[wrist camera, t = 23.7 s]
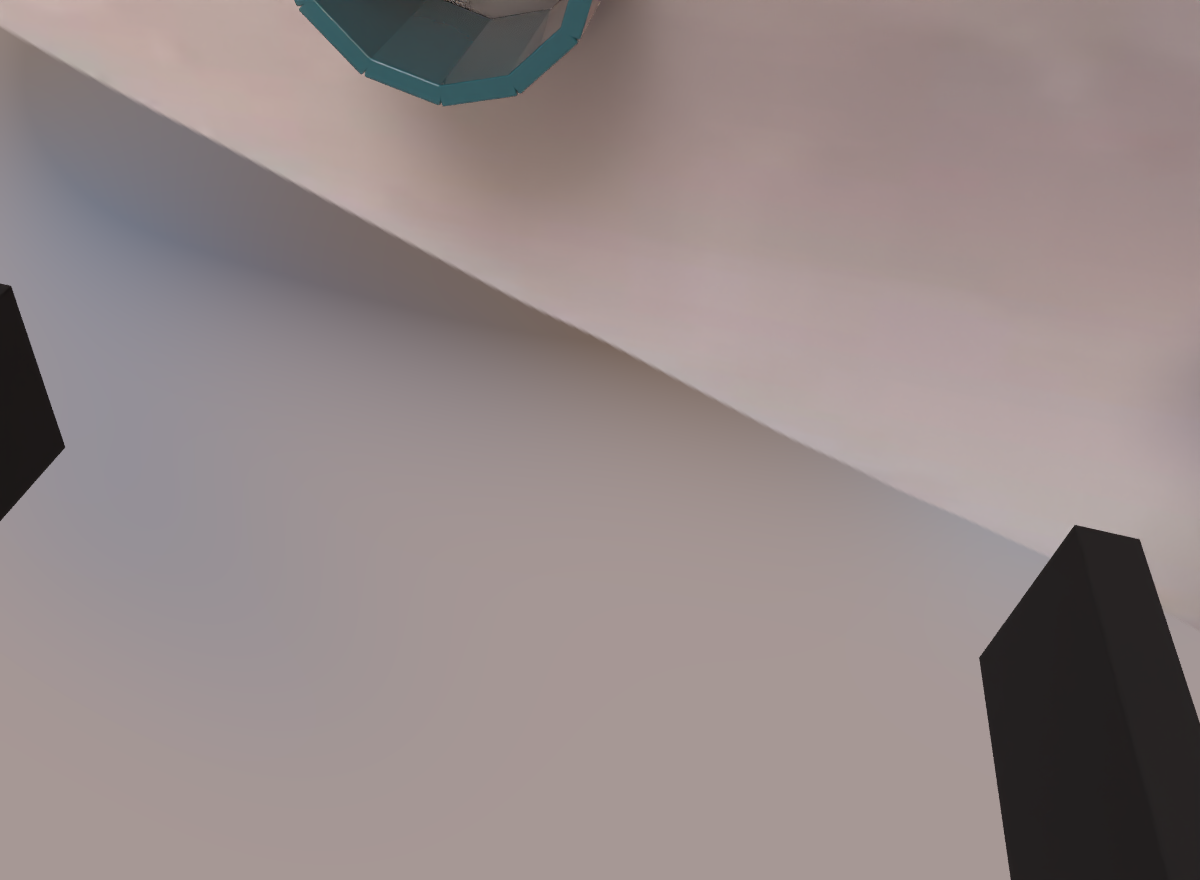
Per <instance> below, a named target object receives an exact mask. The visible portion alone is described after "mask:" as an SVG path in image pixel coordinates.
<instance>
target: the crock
mask: <svg viewBox="0 0 1200 880" xmlns="http://www.w3.org/2000/svg"><path fill="white" fill-rule="evenodd" d="M600 2H601V0H560V1H559V2H558V3H557V4H555V5H554V6H553V7H552V8H551V9H547V10H541V11H535V12H529V13H523V14H517V15H511V16H505V17H499V18H493V19H490V18H487V17H485V16H482V15H480V14H477V13H475V12H472V11H470V10H467V9H465V8H462V7H460V6H457V5H455V4H452V3H450V2H447V1H445V0H295V3H296V5H297V6H301V7H300V8H299V11H300V12H301V13H302V14H303V15H304V16H305V17H306V18H307V19H308V20H309V21H310V22H311V23H312V24H313V25H314V26H315V27H316V28H317V29H318V30H319V31H320V32H321V33H322V35H323V36H324V37H325V38H326V39H327V40H328V41H329V42H330V43H331V44H332V45H333V46H334V47H335V48H336V49H337V50H338V51H339V52H340V53H341V54H342V55H343V56H344V57H345V58H346V59H347V60H348V62H349V63H350V64H351V65H352V66H353V67H354V68H355V69H356V70H357V71H358V72H359V73H360V74H363V73H364V72H365V76H366V77H367V78H370V79H373V80H375V81H378V82H380V83H383V84H385V85H388V86H390V87H393V88H396V89H398V90H401V91H403V92H406V93H408V94H411V95H414V96H416V97H419V98H421V99H424V100H426V101H429V102H431V103H434V104H437V105H440V104H441V103H442V105H443V106H450V105H457V104H464V103H471V102H478V101H485V100H492V99H499V98H506V97H513V96H517V95H518V93H522V92H524V91H525V90H526V89H527V88H528V87H529V86H530V85H531V84H533V83H534V82H535V81H536V80H537V79H538V78H539V77H541V76H542V75H543V74H544V73H545V72H546V71H547V70H548V69H550V68H551V67H552V66H553V65H554V64H555V63H556V62H558V61H559V60H560V59H561V58H562V57H563V56H564V55H566V54H567V53H568V52H569V51H570V50H571V49H572V48H573V47H575V46H576V45H577V44H578V42H579V40H580V39H581V37H582V36H583V34H584V32H585V30H586V28H587V26H588V24H589V23H590V21H591V19H592V17H593V15H594V13H595V11H596V10H597V8H598V6H599V4H600Z"/></svg>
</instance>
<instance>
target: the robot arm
mask: <svg viewBox="0 0 1200 880" xmlns="http://www.w3.org/2000/svg"><path fill="white" fill-rule="evenodd" d="M64 448H65V445H64V442H63V439H62V436H61V433H60V430H59V428H58V425H57V421H56V418H55V416H54V413H53V410H52V407H51V404H50V401H49V398H48V395H47V392H46V389H45V386H44V383H43V380H42V377H41V374H40V371H39V368H38V365H37V362H36V359H35V356H34V353H33V350H32V347H31V344H30V341H29V338H28V335H27V332H26V329H25V326H24V323H23V320H22V317H21V314H20V311H19V308H18V306H17V303H16V299H15V297H14V293H13V291H12V288H11V286H9V285H4V284H0V521H1V520H2V518H3V517H4V516H5V515H6V514H7V513H8V512H9V511H10V509H11V508H12V507H13V506H14V505H15V504H16V503H17V501H18V500H19V499H20V498H21V497H22V496H23V495H24V494H25V492H26V491H27V490H28V489H29V488H30V487H31V485H32V484H33V483H34V482H35V481H36V480H37V479H38V477H39V476H40V475H41V474H42V473H43V472H44V471H45V470H46V468H47V467H48V466H49V465H50V464H51V463H52V462H53V461H54V459H55V458H56V457H57V456H58V455H59V454H60V453H61V452H62V450H63V449H64ZM979 659H980V666H981V673H982V680H983V687H984V694H985V701H986V708H987V715H988V722H989V729H990V736H991V743H992V750H993V757H994V764H995V771H996V778H997V785H998V793H999V799H1000V806H1001V814H1002V820H1003V827H1004V835H1005V842H1006V849H1007V855H1008V863H1009V870H1010V877H1011V880H1200V723H1199V720H1198V716H1197V713H1196V710H1195V707H1194V704H1193V701H1192V698H1191V695H1190V692H1189V689H1188V686H1187V683H1186V680H1185V677H1184V674H1183V671H1182V668H1181V664H1180V661H1179V658H1178V655H1177V652H1176V649H1175V646H1174V643H1173V641H1172V637H1171V634H1170V631H1169V628H1168V625H1167V622H1166V619H1165V616H1164V613H1163V609H1162V606H1161V603H1160V600H1159V597H1158V594H1157V591H1156V588H1155V585H1154V582H1153V579H1152V576H1151V573H1150V570H1149V567H1148V564H1147V561H1146V558H1145V555H1144V551H1143V548H1142V545H1141V542H1140V539H1135V538H1131V537H1126V536H1122V535H1117V534H1113V533H1108V532H1104V531H1100V530H1095V529H1091V528H1086V527H1082V526H1077V525H1075V526H1074V527H1073V528H1072V530H1071V531H1070V532H1069V534H1068V535H1067V537H1066V538H1065V539H1064V541H1063V542H1062V544H1061V545H1060V546H1059V548H1058V549H1057V551H1056V552H1055V553H1054V555H1053V556H1052V557H1051V559H1050V560H1049V562H1048V563H1047V564H1046V566H1045V567H1044V569H1043V570H1042V571H1041V573H1040V574H1039V576H1038V577H1037V578H1036V580H1035V581H1034V582H1033V584H1032V585H1031V587H1030V588H1029V589H1028V591H1027V592H1026V594H1025V595H1024V596H1023V598H1022V599H1021V601H1020V602H1019V604H1018V605H1017V606H1016V608H1015V609H1014V610H1013V612H1012V613H1011V614H1010V616H1009V617H1008V619H1007V620H1006V622H1005V623H1004V624H1003V626H1002V627H1001V628H1000V630H999V631H998V632H997V634H996V636H995V637H994V638H993V640H992V641H991V642H990V644H989V645H988V646H987V648H986V649H985V651H984V652H983V653H982V655H981V656H980V658H979Z"/></svg>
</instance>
